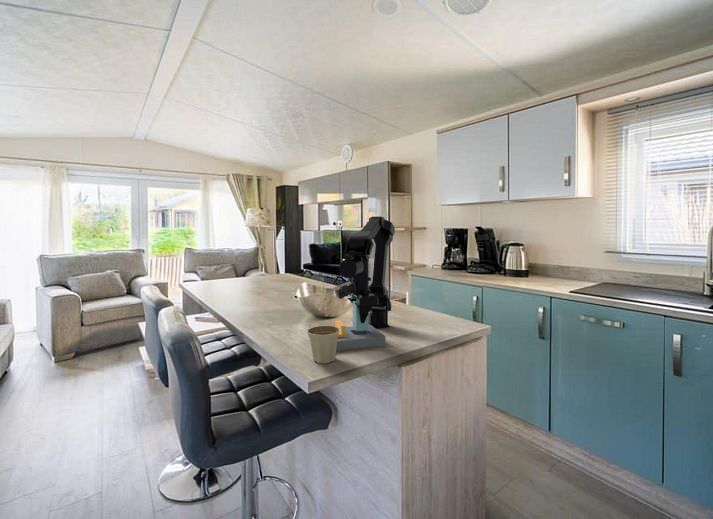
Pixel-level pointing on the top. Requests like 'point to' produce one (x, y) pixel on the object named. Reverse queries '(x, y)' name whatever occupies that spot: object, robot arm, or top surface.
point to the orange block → (341, 328)
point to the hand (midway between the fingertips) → (360, 321)
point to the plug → (358, 320)
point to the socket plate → (360, 339)
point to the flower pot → (323, 343)
